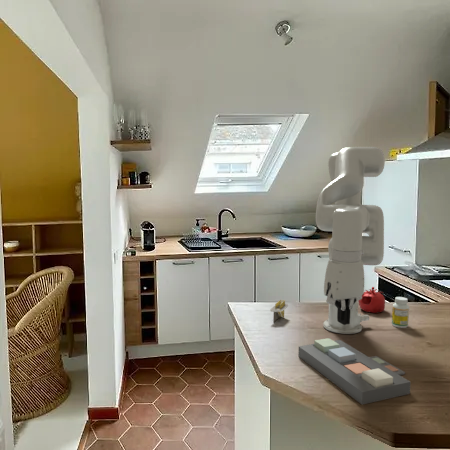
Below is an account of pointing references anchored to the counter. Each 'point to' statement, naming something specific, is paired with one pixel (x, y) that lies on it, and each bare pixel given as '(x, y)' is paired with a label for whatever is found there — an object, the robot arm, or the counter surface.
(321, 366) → the keyguard frame
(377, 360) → the card
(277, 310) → the platform
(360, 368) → the terracotta key
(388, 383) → the cream key
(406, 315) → the supplement bottle
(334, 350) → the blue key
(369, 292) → the pomegranate
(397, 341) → the counter surface
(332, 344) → the sage key
